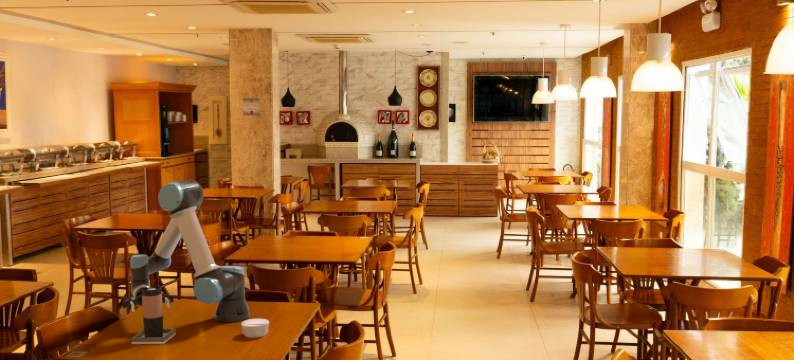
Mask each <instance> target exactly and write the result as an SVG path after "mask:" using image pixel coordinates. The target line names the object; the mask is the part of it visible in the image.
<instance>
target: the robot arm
mask: <svg viewBox="0 0 794 360" xmlns="http://www.w3.org/2000/svg"><path fill="white" fill-rule="evenodd" d="M157 198H158V199H157V200H158V201H157V202H158V204H159V206H160V207H161V209H163V210H164V211H167V212H168V214H169V217H170V218H171V219H170V221H169V223H168V224H167V226H166V228H165V230H164V232H163V235H162V236H161V238H160V240H159V242H158V244H157V245H156V247H155V249H154V251H153V253H152V254H151V255H150V256H148V255H147V254H134V255H132V256H131V257H130V264H129V267H130V280H131V281H130V293H131V295H132V296H128V298H126V299H125V300H123V301H122V309H126V308H127V311H131V312H133V313H134V312H135V311H136V310H135V306H139V305H140V306H143V305H142V288H145V287H147V288H151V287H150V275H151V274H154V273H158V272H160V271H164V270H166V269H168V268H169V267H170V266H171V265H172V264H171V263H172V258H171V256H172V255H173V253H174V250H175V249H176V248H177V245H178V244H179V241H180V239H181V238H182V240H183V242H184V246H185V247H186V249H187V253H188V255H189V258H190V261H191V263H192V265H193V268H194V271H195V273H194V275H193V278H194V281H195V282H194V284H193V294H194V296H195V298H196V299H197V300H198V301H199V302H200V303H203V304H205V305H212V304H215V303H217V306H216V308H215V311H214V320H215V321H216V322H222V323H234V322H240V321H246V320H248V319H250V317H251V313H250V312H251V311H250V308H249V305H248V303H247V301H246V289H245V287H246V284H245V282H246V281H245V277H246V275H245V269H244V267H243V266H238V265H217V264H216V262H215V260H214V257H213V255H212V251H211V250H210V248H209V244H208V242H207V241H208V240H207V239H206V237H205V234H204V232H203V229H202V226H201V223H200V221H199V218H198V216H197V214H196V213H198V211H199V210H200V208H201V205H202V204H203V200H204V189H203V187H202V185H201V184H200V183H199V182H198V181H195V180H193V179H184V180H179V181H178V180H177V181H172V182H169V183H165V184H164V185H163V186H162V187H161V188H160V190H159V192H158V196H157ZM174 300H175V299H174V295H170V294H165V293H163V292H162V304H163V303H164V305H166V308H170V306H171V305H170V304H171V303H174Z"/></svg>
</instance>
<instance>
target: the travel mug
mask: <svg viewBox="0 0 794 360" xmlns="http://www.w3.org/2000/svg"><path fill="white" fill-rule="evenodd" d="M162 290H163V289H162V286H158V285H153V286H151V287H150V288H147V287H145V288H142V305H141V306H142V322H143V330H144V335H145V337H163V329H164V312H163V311H164V308H163V307H164V306H163V303H162V293H163V291H162Z"/></svg>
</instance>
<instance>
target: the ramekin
mask: <svg viewBox="0 0 794 360" xmlns="http://www.w3.org/2000/svg"><path fill="white" fill-rule="evenodd" d="M240 325H241V329H242V333H243V336H244V337H246V338H248V339H249V338H251V339H256V338H262V337H265V336H267V334H268V332H269V326H270V321H269V320H268V319H267V318H248V319H245V320H242V322H241V323H240Z"/></svg>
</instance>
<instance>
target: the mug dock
mask: <svg viewBox="0 0 794 360" xmlns="http://www.w3.org/2000/svg"><path fill="white" fill-rule="evenodd" d="M176 334H177V332H176V328H163V337H145V335H144V329H142V330H141V331H139V332H138V333H137V334H135V335H134V336H132V337H131V338H130V339H131V340H130V341H131V345H164V344H166V343H167V342H168V341H169V340H171V339H172V338H174V336H175V335H176Z"/></svg>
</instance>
